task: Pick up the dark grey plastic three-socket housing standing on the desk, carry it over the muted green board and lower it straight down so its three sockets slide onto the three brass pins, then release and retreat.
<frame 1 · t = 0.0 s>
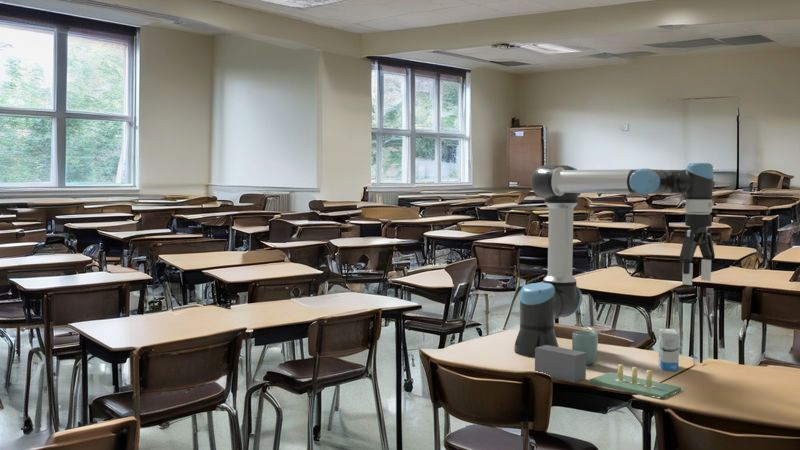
hand: (696, 282, 218), 28 cm above the table, fingers open, 13 cm apart
housing: (559, 376, 215), on the table
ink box: (668, 368, 226), on the table
cup: (584, 364, 230), on the table
header: (634, 386, 204), on the table
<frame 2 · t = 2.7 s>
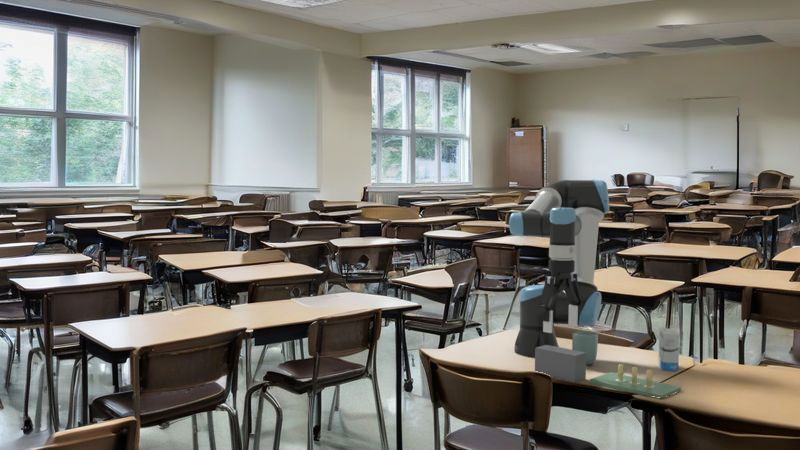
hand: (560, 329, 214), 14 cm above the table, fingers open, 13 cm apart
nothing on the table moved.
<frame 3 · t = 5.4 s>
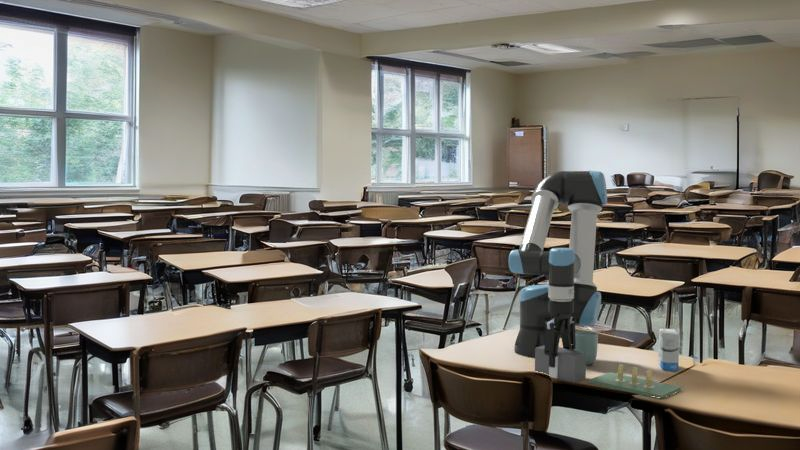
hand: (559, 375, 215), 0 cm above the table, fingers closed on housing, 6 cm apart
housing: (559, 376, 215), on the table, touching gripper
everything else where it was.
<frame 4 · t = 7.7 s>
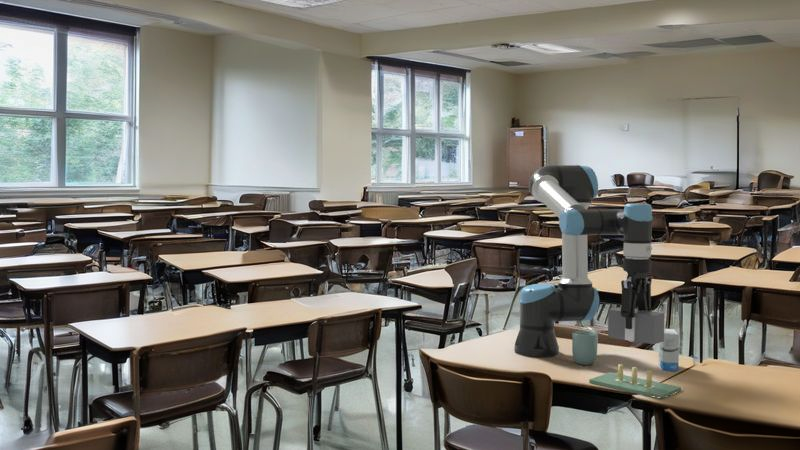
hand: (635, 338, 203), 14 cm above the table, fingers closed on housing, 6 cm apart
housing: (635, 339, 203), point 14 cm above the table, touching gripper
everything else where it was.
when the fingers open (2 cm above the table, at t = 9.9 s): housing drops 1 cm, resting on header.
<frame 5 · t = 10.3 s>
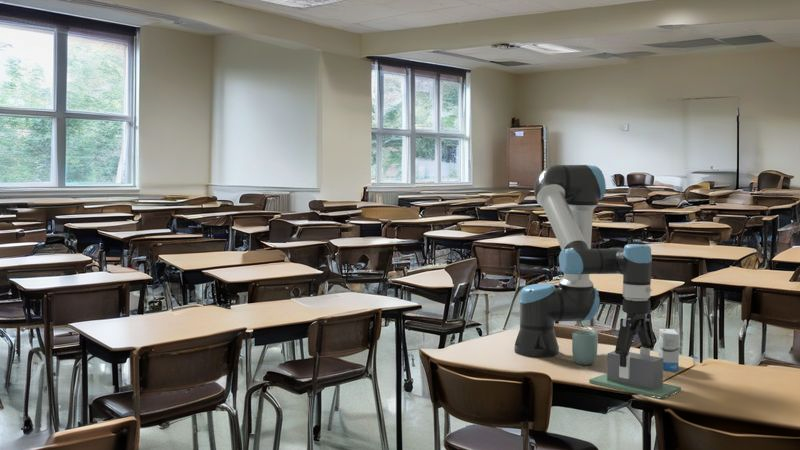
hand: (634, 373, 204), 4 cm above the table, fingers open, 11 cm apart
housing: (634, 383, 204), point 1 cm above the table, touching header
everything else where it was.
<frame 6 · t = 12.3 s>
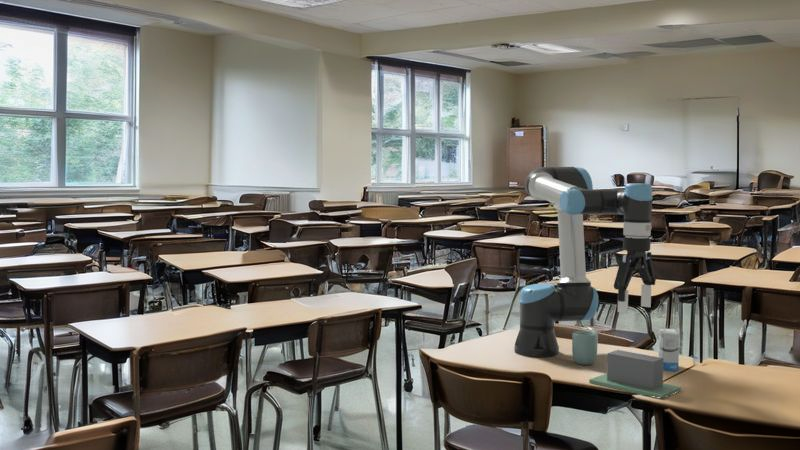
hand: (634, 309, 206), 22 cm above the table, fingers open, 13 cm apart
nothing on the table moved.
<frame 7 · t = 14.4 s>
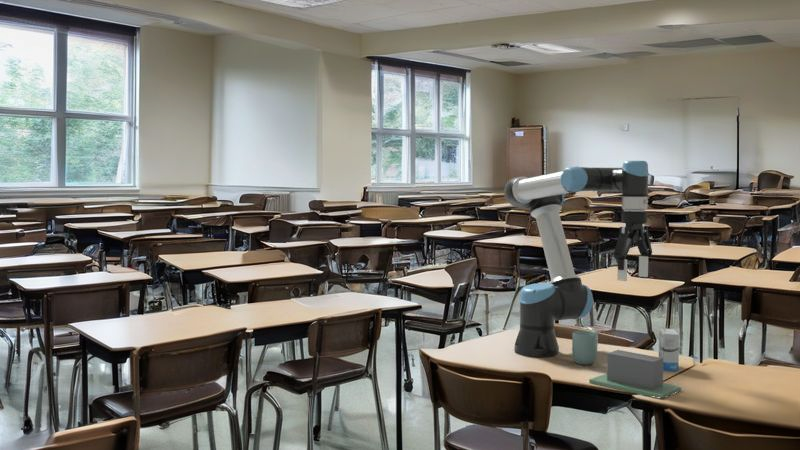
hand: (632, 278, 221), 29 cm above the table, fingers open, 13 cm apart
nothing on the table moved.
at the end: housing 0.1 cm off-centre on the header, point 1.0 cm above the header's base; housing tilted 0°; the gripper is holding nothing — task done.
